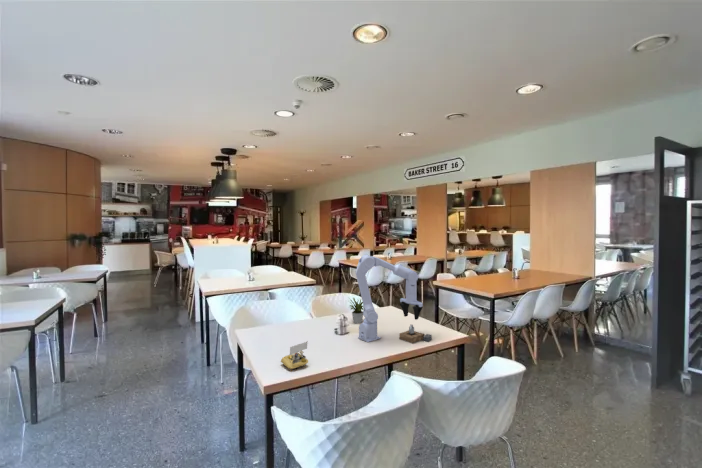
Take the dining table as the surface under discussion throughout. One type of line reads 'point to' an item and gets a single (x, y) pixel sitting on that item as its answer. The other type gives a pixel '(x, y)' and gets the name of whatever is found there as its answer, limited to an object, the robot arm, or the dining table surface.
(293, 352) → the yellow card holder
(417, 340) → the socket block
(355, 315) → the house plant
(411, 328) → the round bit
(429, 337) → the square bar
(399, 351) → the dining table surface
